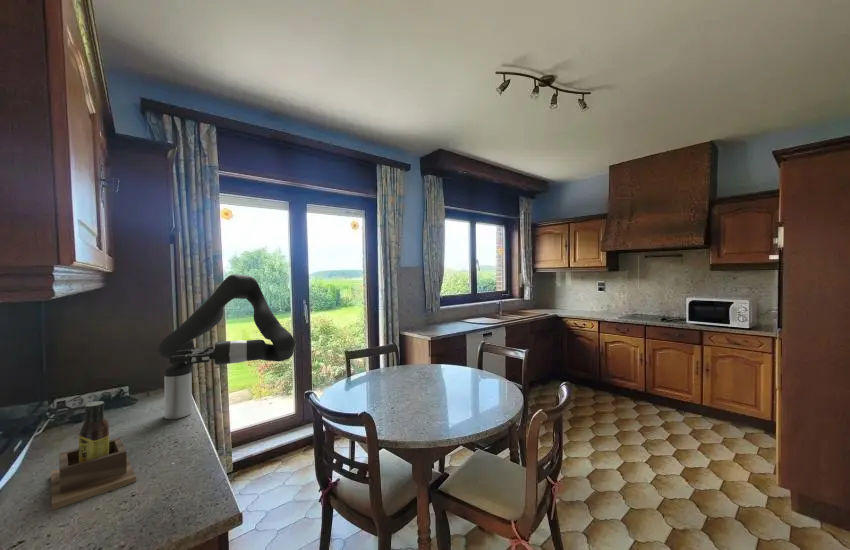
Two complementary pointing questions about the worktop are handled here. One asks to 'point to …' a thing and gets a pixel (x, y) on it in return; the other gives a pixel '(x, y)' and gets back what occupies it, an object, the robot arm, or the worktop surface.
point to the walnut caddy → (90, 475)
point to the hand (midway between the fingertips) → (172, 357)
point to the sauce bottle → (94, 433)
